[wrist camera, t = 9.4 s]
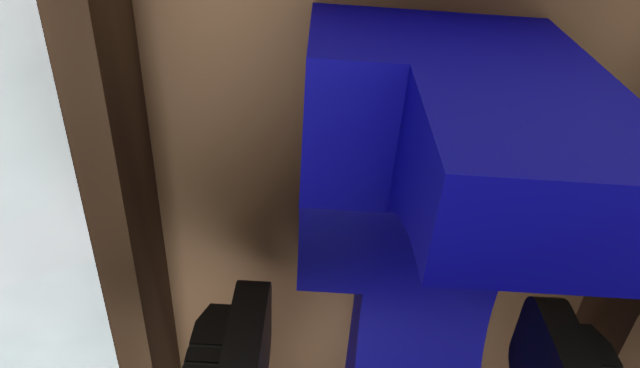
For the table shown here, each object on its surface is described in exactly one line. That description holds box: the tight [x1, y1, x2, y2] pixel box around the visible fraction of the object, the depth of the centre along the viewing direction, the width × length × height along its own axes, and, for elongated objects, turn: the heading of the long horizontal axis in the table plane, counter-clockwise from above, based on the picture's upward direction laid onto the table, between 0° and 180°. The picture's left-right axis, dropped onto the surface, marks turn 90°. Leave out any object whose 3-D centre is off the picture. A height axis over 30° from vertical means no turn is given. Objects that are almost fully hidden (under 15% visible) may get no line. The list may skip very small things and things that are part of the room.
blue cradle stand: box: [296, 3, 640, 368], centre depth 11 cm, size 12×4×6 cm, turn 177°
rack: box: [36, 0, 640, 368], centre depth 13 cm, size 24×16×3 cm, turn 87°
